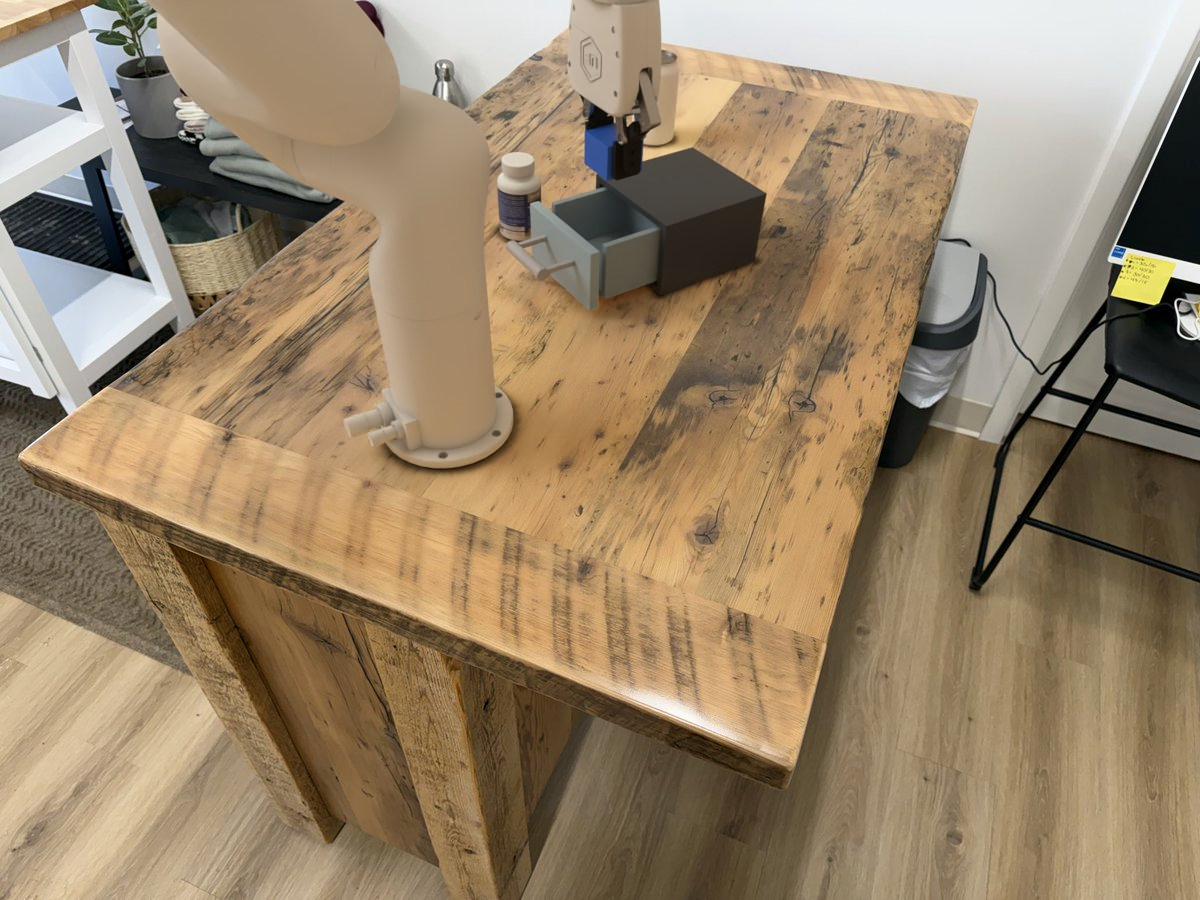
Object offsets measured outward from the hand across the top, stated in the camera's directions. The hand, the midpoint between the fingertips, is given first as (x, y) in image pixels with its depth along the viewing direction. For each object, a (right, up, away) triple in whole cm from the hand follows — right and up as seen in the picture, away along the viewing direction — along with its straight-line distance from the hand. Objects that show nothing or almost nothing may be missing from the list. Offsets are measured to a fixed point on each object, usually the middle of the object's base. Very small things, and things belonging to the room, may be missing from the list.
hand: (612, 164), depth 88 cm
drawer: (-2, -9, +12) cm, 15 cm away
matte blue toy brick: (0, 0, 0) cm, 0 cm away
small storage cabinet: (+8, -5, +18) cm, 20 cm away
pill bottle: (-11, -2, +20) cm, 23 cm away
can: (+7, +18, +41) cm, 45 cm away
